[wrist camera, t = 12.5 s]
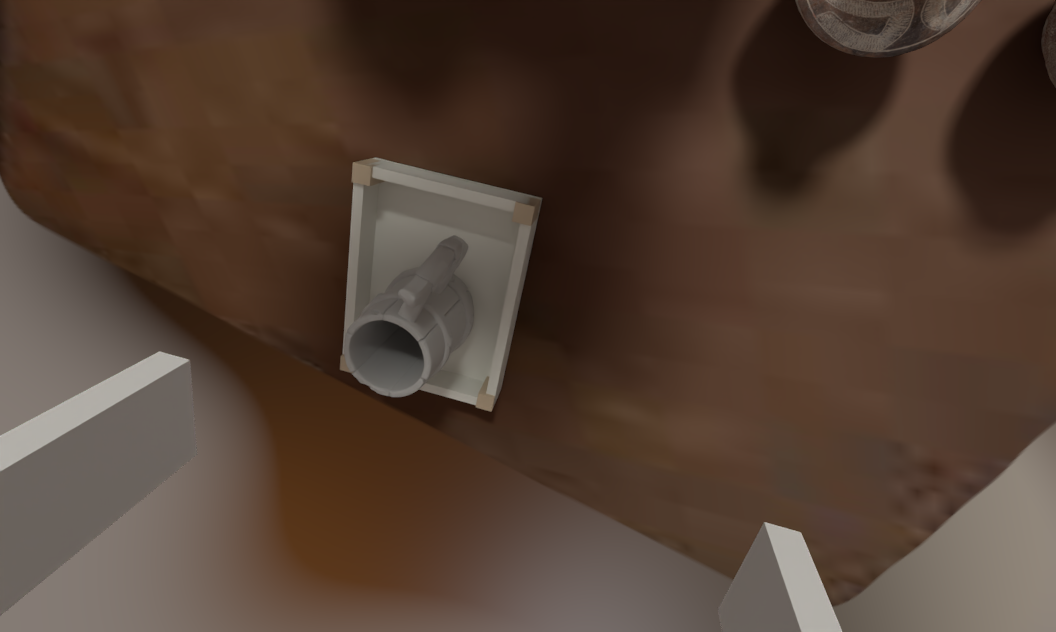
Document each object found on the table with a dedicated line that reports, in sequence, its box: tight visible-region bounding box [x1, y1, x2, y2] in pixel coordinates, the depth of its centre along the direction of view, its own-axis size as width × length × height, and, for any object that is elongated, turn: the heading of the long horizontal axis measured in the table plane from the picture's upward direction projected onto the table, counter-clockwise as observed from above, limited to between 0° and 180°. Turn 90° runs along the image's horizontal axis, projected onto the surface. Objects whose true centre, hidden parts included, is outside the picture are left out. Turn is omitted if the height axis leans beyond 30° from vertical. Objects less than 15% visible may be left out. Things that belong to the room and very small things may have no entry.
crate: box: [340, 158, 542, 412], centre depth 42 cm, size 18×14×4 cm
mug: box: [344, 235, 474, 397], centre depth 37 cm, size 8×12×12 cm, turn 152°
